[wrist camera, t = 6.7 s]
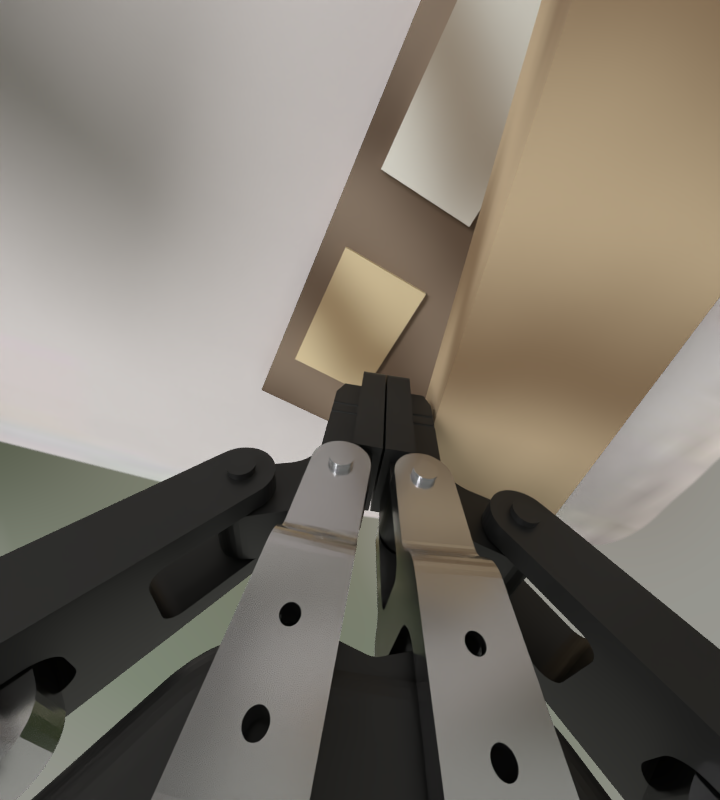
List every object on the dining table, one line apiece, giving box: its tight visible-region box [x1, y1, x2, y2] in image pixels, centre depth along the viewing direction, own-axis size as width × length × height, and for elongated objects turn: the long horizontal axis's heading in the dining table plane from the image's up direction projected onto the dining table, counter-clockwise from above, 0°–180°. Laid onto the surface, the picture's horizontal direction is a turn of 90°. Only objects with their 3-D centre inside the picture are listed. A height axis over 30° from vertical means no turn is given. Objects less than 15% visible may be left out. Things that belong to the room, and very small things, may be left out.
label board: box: [262, 0, 541, 421], centre depth 12 cm, size 24×15×6 cm, turn 152°
